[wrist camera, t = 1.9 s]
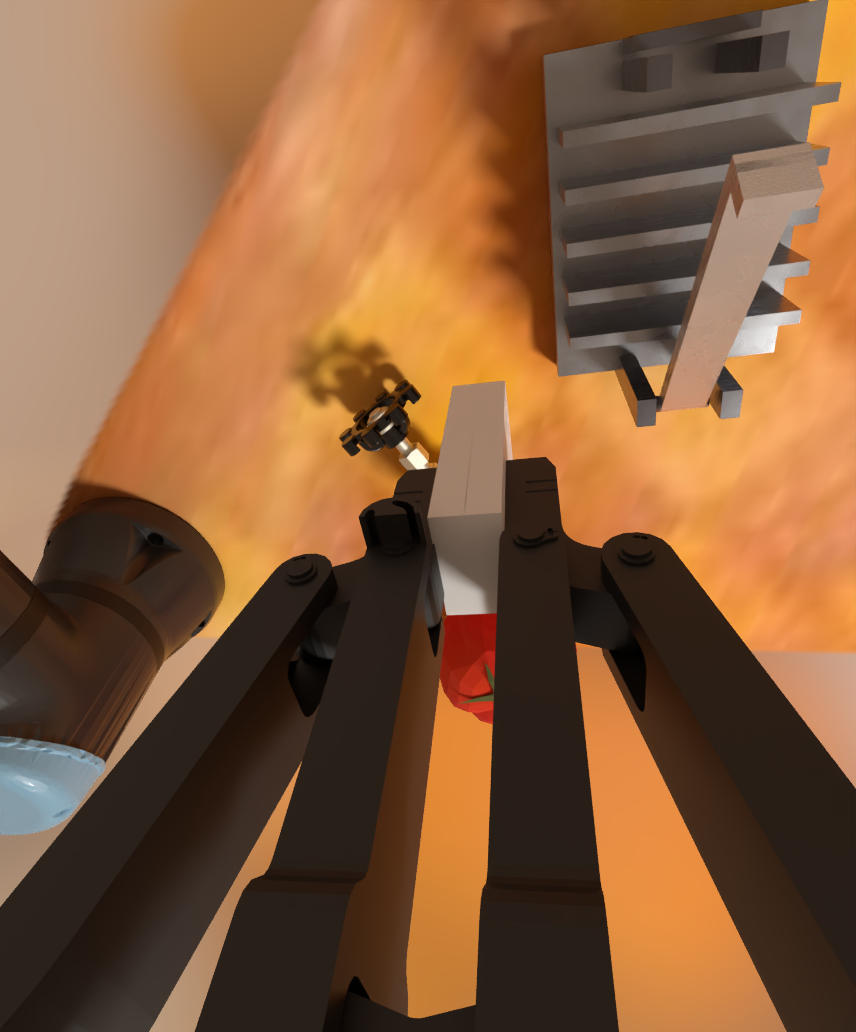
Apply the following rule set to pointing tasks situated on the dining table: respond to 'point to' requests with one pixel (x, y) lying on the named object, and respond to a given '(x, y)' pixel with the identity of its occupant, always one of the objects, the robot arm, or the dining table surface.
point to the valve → (388, 428)
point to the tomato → (470, 663)
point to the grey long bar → (736, 264)
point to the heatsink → (668, 183)
